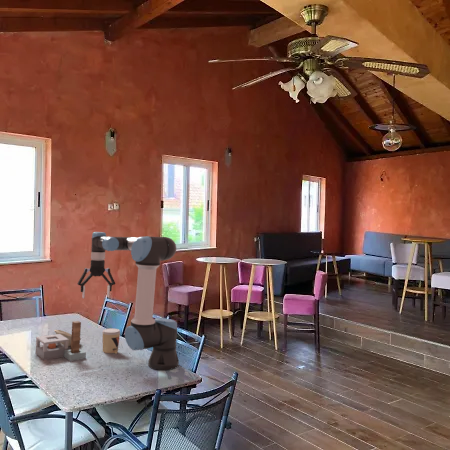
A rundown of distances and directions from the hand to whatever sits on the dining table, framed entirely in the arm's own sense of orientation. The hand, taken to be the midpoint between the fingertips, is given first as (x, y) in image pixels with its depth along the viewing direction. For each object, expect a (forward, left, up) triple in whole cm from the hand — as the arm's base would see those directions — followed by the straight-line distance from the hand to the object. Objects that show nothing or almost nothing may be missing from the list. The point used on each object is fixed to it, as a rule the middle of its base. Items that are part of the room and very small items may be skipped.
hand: (95, 297), depth 241 cm
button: (-6, +25, -25) cm, 36 cm away
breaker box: (-6, +25, -28) cm, 38 cm away
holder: (-16, +17, -28) cm, 36 cm away
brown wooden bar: (-16, +17, -27) cm, 35 cm away
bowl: (+7, +12, -28) cm, 31 cm away
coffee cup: (-15, -3, -28) cm, 31 cm away
